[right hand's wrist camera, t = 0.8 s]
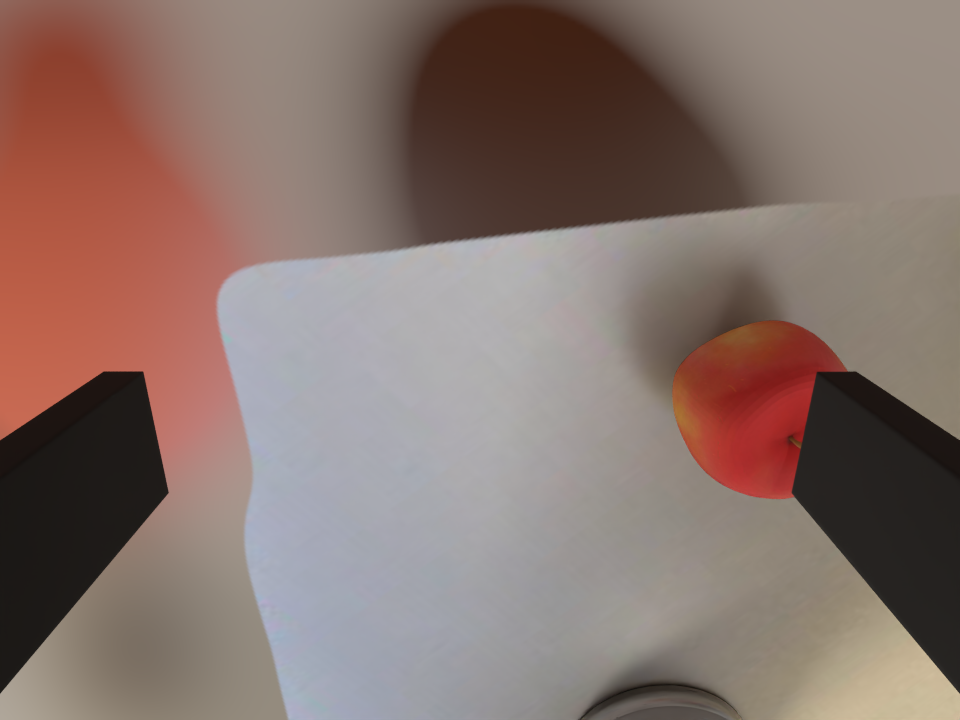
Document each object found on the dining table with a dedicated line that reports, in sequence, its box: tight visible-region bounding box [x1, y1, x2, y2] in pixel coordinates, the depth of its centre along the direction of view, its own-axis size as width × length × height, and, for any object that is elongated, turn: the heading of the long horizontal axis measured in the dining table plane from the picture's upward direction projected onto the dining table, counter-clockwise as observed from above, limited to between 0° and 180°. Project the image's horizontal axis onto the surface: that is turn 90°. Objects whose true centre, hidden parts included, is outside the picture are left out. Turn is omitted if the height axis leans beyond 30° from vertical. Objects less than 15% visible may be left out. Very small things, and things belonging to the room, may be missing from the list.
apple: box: [672, 321, 848, 499], centre depth 35 cm, size 10×10×10 cm
